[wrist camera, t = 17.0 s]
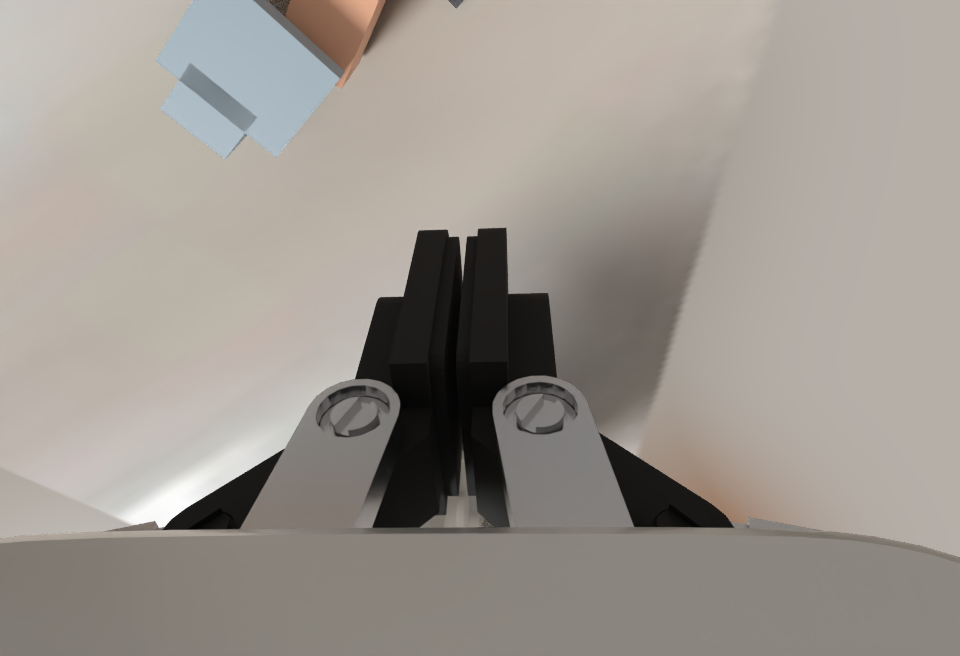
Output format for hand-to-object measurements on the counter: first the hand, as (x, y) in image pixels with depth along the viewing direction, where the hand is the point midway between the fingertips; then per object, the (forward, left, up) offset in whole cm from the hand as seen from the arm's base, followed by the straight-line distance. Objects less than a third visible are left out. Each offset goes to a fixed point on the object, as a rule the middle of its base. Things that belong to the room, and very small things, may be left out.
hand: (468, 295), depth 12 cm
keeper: (+7, +7, -21) cm, 23 cm away
